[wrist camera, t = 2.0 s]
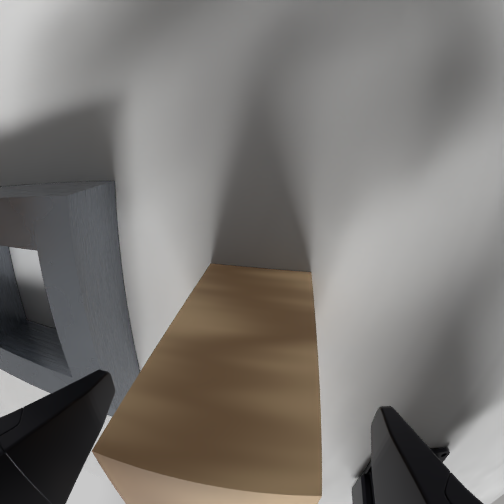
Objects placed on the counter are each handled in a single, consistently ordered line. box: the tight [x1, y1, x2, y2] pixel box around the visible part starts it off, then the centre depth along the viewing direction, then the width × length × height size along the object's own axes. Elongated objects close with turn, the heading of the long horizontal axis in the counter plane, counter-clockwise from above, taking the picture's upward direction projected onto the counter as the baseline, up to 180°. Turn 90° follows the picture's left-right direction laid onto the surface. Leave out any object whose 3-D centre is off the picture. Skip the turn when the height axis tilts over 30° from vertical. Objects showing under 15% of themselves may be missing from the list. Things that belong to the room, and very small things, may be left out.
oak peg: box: [92, 264, 322, 504], centre depth 10 cm, size 4×4×10 cm
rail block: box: [0, 181, 140, 417], centre depth 14 cm, size 11×12×4 cm
